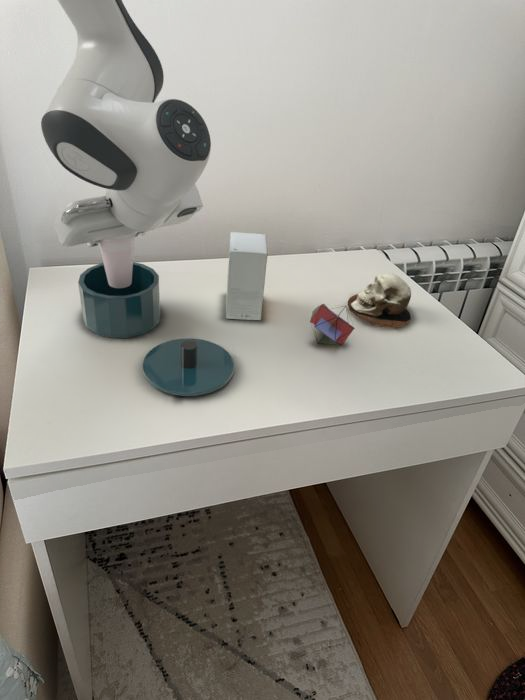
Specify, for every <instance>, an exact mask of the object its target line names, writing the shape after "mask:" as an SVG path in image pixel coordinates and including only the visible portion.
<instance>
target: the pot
mask: <svg viewBox="0 0 525 700" xmlns="http://www.w3.org/2000/svg"><path fill="white" fill-rule="evenodd" d="M77 285H78V291H79V299H80V305H81V314H82V320H83V322H84V325H85V327H86V328H87V329H88V330H89V331H90V332H92V333H93V334H95V335H98V336H101V337H105V338H110V339H129V338H133V337H134V338H135V337H138V336H142V335H144V334H146V333H148V332H150V331H152V330H153V329H155V328H156V326H158V324H159V322H160V320H161V319H160V318H161V303H160V302H161V298H160V275H159V274H158V273H157V271H156V270H155V269H153V268H152V267H150V266H148V265H146V264H144V263H140V262H135V261H133V270H132V283H131V285H130V286H128V287H125V288H113V287H111V286H110V285H109V284H108V280H107V275H106V271H105V267H104V263H103V262H100V263H98V264H96V265H93V266H91V267H88V268H87V269H86V270H84V271H83V272H82V273H80V275H79V278H78V284H77Z"/></svg>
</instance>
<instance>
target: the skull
mask: <svg viewBox="0 0 525 700" xmlns="http://www.w3.org/2000/svg"><path fill="white" fill-rule="evenodd" d="M411 298H412V290H411V286H410V285H409V284H408V282H406V281H405V280H404V279H403V278H402V277H401V276H399V275H397V274H395V273H393V272H391V273H390V272H386V273H381V274H378V275H375V277H374V282H371V283H368V284H367V285H366V287H365V288H364V290H362V291H360V292H359V293H356V294H354V295H352V296H350V297H349V298H348V300H347V309H348V310H349V311H350V313H352V314H353V315H354V316H356V317H357V318H358V319H360V320H362V321H364V322H366V323H369V324H370V325H371V326H377V327H382V328H390V329H391V328H396V329H397V328H401V327H404V326H407V325H408V324H409V323H411V320H412V315H411V312H410V311H409V310H408V309H407V307H408V306H409V304H410V302H411Z"/></svg>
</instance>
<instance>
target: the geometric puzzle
mask: <svg viewBox="0 0 525 700" xmlns="http://www.w3.org/2000/svg"><path fill="white" fill-rule="evenodd" d="M337 306H338V307H337ZM337 306H336V309H338V308H339V307H341V308H342V307H343V309H342V310H341V311H340V312H339V314H337V313H335V312H334V311H333V310H334V307H332V308H329V307H328V305H327V304H325V303H320V305H318V306H316V308H314V309H313V310H312V311H311V316H310V320H309V322H310V325H311V326H313V327H311V328H312V330H313V335H314V336H315V339H318V337H317V336H316V334H317V333H316V331H315V330H318V332H320V333H322V334H323V335H322V337H321V338H320V340H319V341H316V343H317V345H323V342H321V341H322V340H323V339H324V338H325V336H326V337H327V338H328V339H330V340H331V341H332V342H333V343H336V344H332V343H331V341H329V342H326V344H329V343H330V344H331V345H333V346H334V345H339V346H343V344H344V343H345V342H346V340H347V339H348V338H349V337H350V336H351V334H352V332H353V331H354V330H356V328H355V327H354V326H353V324H354V323H353V320H352V319H350V321H351V323H352V325H351V324H350V323H349V321H347V320H346V319H343V318H342V317H341V314H342V312H343V311H344V309H346V311H347V314H348V315H346V316H347V319H349V317H351V316H350V315H351V314H350V313H349V311H348V307H347V305H340V304H339V305H338V304H337ZM332 309H333V310H332ZM314 329H315V330H314Z"/></svg>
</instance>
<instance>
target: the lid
mask: <svg viewBox="0 0 525 700" xmlns="http://www.w3.org/2000/svg"><path fill="white" fill-rule="evenodd" d="M234 369H235V363H234V359H233V357H232V356H231V354H230V353H229V351H227V350H226V349H225V348H224V347H222V346H221V345H219V344H217V343H215V342H212V341H211V340H210V341H209V340H206V339H200V338H194V337H191V338H190V337H185V338H176V339H171V340H168V341H164V342H162V343H159V344H158V345H156V346H154V347H153V348H152V349H150V350H149V351H148V352H147V353H146V355H145V357H144V358H143V361H142V372H143V373H142V374H143V376H144V378H145V380H146V381H147V382H148V383H149V384H150V385H151V386H152V387H154V388H156V389H157V390H159V391H160V392H164V393H166V394H170V395H174V396H181V397H196V396H202V395H206V394H207V395H208V394H211V393H213V392H216V391H217V390H220V389H221V388H223V387H224V386H226V384H227V383H228V382H229V381H230V380H231V378H232V376H233V375H234Z"/></svg>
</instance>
